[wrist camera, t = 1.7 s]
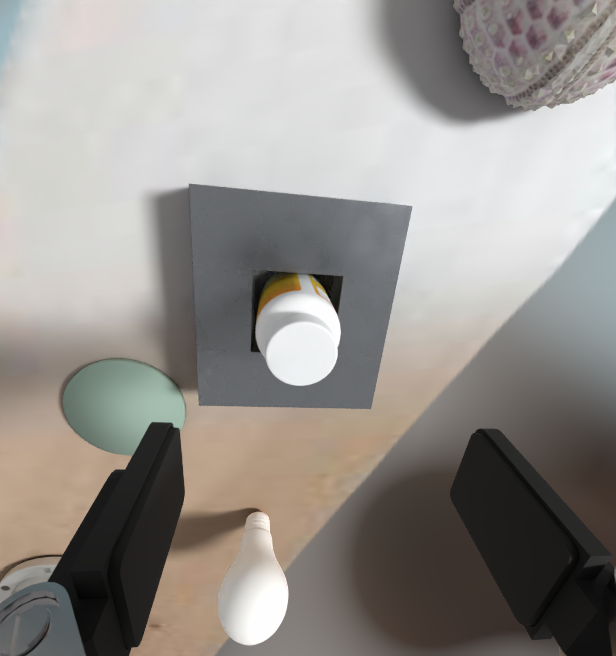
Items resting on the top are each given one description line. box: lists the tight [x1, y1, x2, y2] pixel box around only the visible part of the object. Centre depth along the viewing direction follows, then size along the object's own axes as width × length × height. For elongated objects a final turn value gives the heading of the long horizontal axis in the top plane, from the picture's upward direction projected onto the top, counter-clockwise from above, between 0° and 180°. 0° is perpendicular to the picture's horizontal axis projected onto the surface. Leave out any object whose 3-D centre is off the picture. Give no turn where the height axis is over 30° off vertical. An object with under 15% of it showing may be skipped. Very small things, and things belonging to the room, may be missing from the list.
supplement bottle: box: [255, 272, 341, 386], centre depth 22 cm, size 5×5×10 cm
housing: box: [189, 184, 412, 409], centre depth 25 cm, size 16×14×4 cm
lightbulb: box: [218, 512, 288, 645], centre depth 31 cm, size 6×6×11 cm
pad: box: [63, 358, 186, 455], centre depth 28 cm, size 10×10×1 cm
